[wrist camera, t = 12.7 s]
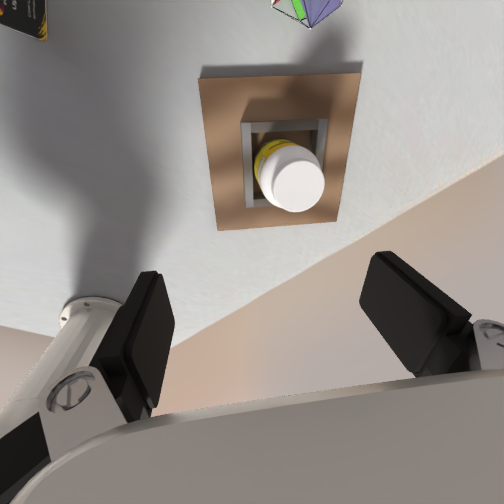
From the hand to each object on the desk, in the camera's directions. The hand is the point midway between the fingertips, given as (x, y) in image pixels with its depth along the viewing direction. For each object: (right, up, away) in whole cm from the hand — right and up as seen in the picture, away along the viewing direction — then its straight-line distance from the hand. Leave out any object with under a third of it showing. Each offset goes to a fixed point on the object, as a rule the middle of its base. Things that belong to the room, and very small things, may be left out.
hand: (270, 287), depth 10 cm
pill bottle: (+2, +13, +20) cm, 24 cm away
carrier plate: (+3, +14, +20) cm, 25 cm away
